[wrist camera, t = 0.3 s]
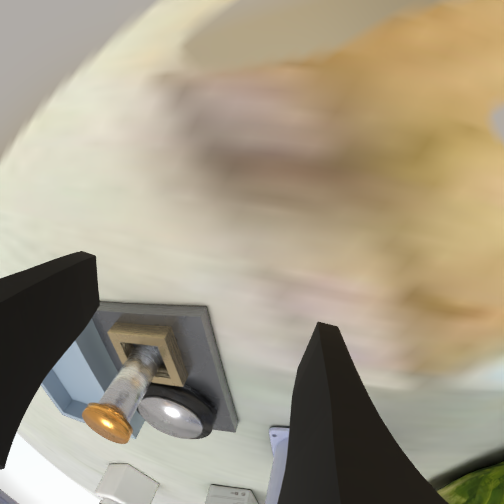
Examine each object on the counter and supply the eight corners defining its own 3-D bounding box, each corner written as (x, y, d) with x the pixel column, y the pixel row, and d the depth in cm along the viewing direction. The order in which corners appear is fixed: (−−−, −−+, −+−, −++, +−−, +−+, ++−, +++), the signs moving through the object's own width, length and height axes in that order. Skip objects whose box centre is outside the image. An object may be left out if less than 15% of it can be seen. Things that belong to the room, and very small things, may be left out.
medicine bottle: (138, 482, 46) (116, 531, 35) (108, 463, 44) (83, 513, 33) (160, 483, 43) (137, 538, 32) (128, 463, 41) (100, 519, 31)
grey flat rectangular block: (238, 424, 28) (231, 449, 25) (148, 410, 30) (137, 432, 28) (206, 306, 22) (191, 335, 19) (95, 301, 24) (74, 323, 22)
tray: (145, 418, 31) (135, 438, 29) (73, 398, 34) (62, 414, 31) (92, 317, 25) (73, 338, 23) (19, 307, 28) (3, 323, 25)
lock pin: (176, 367, 24) (136, 448, 17) (140, 362, 25) (96, 436, 18) (164, 334, 22) (114, 418, 15) (126, 331, 23) (73, 406, 16)
